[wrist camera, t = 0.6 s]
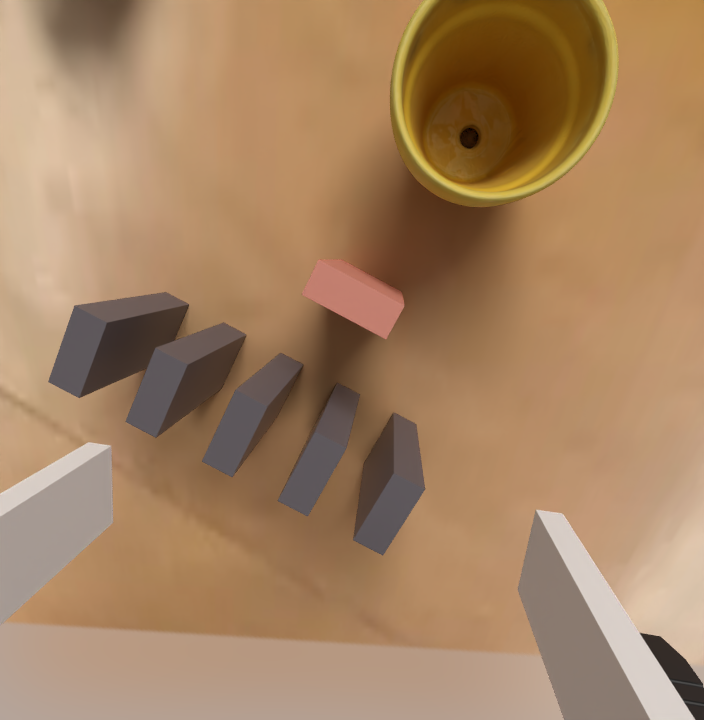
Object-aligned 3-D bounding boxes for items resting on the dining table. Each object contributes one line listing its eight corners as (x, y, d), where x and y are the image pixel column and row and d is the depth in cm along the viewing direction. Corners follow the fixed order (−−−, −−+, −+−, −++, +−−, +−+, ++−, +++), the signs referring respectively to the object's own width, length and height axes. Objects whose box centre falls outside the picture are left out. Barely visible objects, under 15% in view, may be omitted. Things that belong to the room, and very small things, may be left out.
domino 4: (388, 315, 33) (386, 339, 23) (329, 283, 33) (301, 294, 23) (401, 291, 32) (404, 305, 22) (341, 259, 32) (318, 259, 22)
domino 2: (199, 377, 35) (125, 421, 25) (223, 322, 34) (155, 347, 24) (221, 388, 35) (156, 437, 26) (246, 334, 34) (187, 364, 24)
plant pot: (568, 180, 29) (651, 142, 20) (423, 243, 31) (436, 236, 22) (517, 20, 28) (581, -103, 18) (367, 97, 30) (354, 21, 20)
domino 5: (309, 434, 35) (277, 500, 26) (337, 382, 34) (315, 431, 25) (331, 446, 35) (307, 516, 26) (360, 394, 34) (346, 448, 25)
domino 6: (364, 463, 36) (353, 540, 26) (393, 412, 34) (393, 472, 25) (385, 474, 36) (382, 555, 26) (416, 424, 34) (425, 489, 25)
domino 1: (143, 347, 35) (48, 381, 25) (165, 292, 34) (74, 305, 24) (166, 359, 35) (79, 398, 25) (189, 304, 34) (106, 322, 24)
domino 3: (254, 405, 35) (201, 461, 26) (280, 352, 34) (235, 389, 24) (276, 417, 35) (232, 477, 26) (303, 364, 34) (267, 406, 24)
